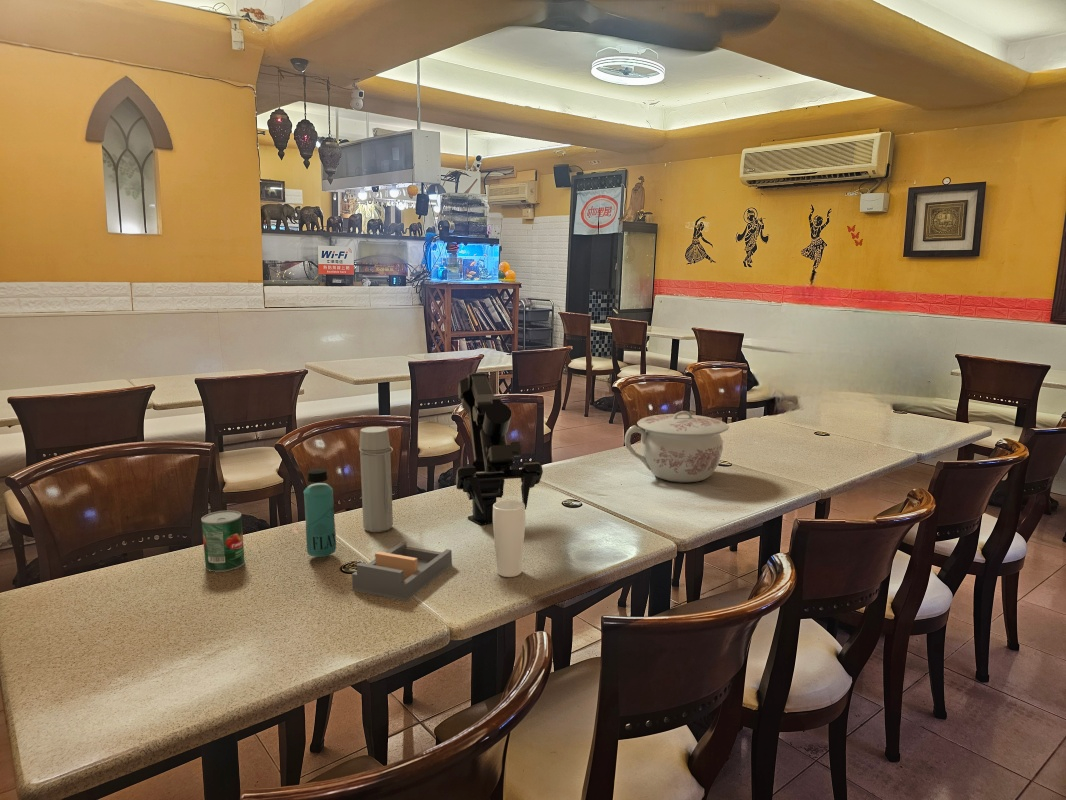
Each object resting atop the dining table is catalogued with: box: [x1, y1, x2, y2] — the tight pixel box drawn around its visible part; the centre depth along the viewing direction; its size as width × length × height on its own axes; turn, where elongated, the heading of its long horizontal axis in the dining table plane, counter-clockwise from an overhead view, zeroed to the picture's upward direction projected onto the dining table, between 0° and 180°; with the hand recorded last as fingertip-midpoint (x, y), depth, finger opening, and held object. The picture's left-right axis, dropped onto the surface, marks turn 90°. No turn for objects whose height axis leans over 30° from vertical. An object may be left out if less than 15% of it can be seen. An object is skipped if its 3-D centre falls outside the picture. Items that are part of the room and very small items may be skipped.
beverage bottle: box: [303, 468, 337, 558], centre depth 156 cm, size 6×7×20 cm
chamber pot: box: [624, 410, 730, 484], centre depth 217 cm, size 28×28×21 cm
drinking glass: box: [492, 499, 526, 578], centre depth 148 cm, size 7×7×15 cm
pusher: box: [374, 551, 418, 580], centre depth 144 cm, size 1×9×5 cm, turn 68°
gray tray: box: [351, 541, 453, 602], centre depth 147 cm, size 18×12×6 cm
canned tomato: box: [200, 510, 246, 573], centre depth 153 cm, size 8×8×11 cm
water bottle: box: [358, 426, 394, 533], centre depth 172 cm, size 9×8×25 cm
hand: (504, 510), depth 152 cm, fingers open, 9 cm apart
